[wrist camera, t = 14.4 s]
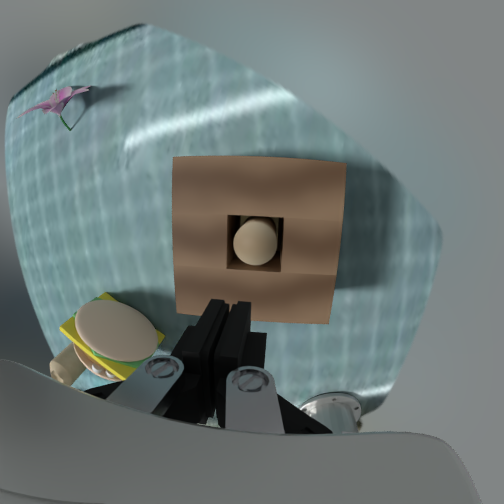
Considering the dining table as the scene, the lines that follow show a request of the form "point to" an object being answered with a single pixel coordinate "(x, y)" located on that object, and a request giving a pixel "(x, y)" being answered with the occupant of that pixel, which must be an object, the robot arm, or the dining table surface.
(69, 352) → the candle
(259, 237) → the maple peg
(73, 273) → the dining table surface
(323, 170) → the socket block
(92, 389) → the robot arm
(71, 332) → the hamburger
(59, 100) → the lily
